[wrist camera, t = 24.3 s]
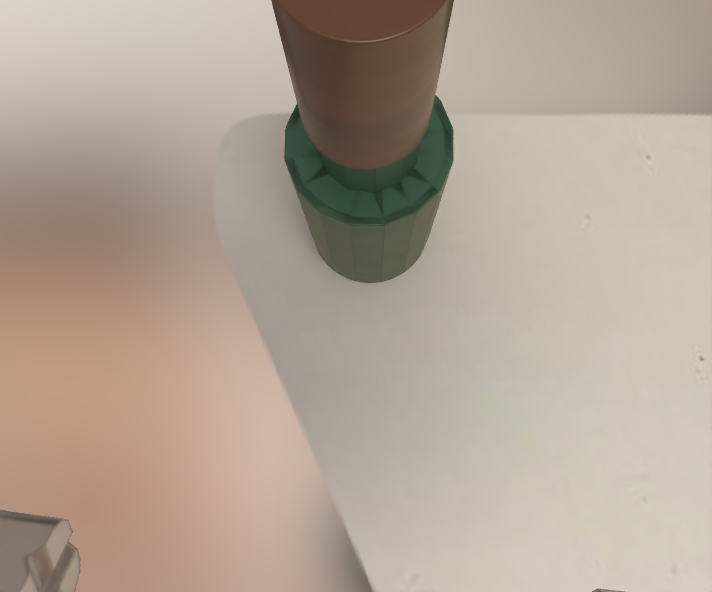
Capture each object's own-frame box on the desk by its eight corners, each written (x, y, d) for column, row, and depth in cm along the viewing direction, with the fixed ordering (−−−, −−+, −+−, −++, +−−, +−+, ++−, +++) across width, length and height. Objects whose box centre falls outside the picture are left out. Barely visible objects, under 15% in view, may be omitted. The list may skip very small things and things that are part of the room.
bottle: (337, 300, 37) (312, 229, 22) (296, 194, 38) (246, 60, 23) (446, 257, 37) (493, 160, 22) (402, 154, 38) (420, -5, 23)
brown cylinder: (422, 178, 22) (448, 55, 15) (290, 160, 23) (246, 29, 15) (439, 55, 23) (473, -127, 15) (311, 39, 23) (280, -149, 15)
